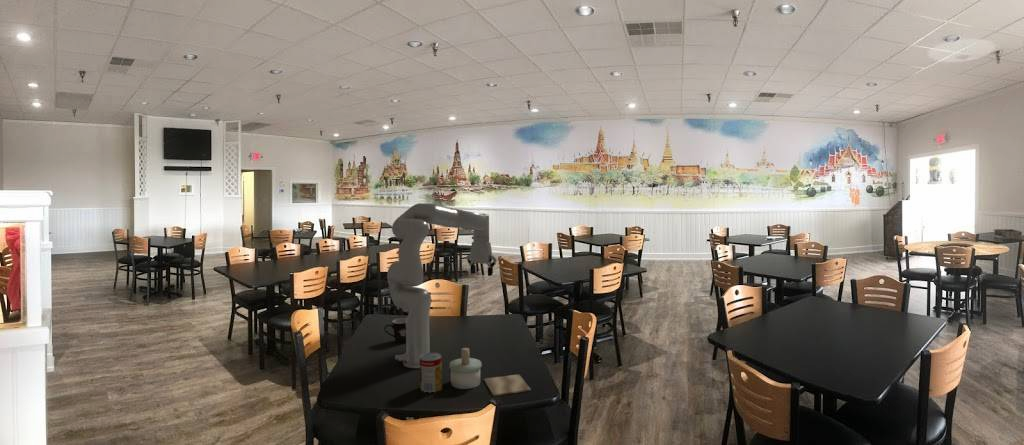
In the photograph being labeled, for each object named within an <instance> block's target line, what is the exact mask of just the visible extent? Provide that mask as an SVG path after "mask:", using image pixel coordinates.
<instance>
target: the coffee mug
mask: <svg viewBox="0 0 1024 445" xmlns="http://www.w3.org/2000/svg"><path fill="white" fill-rule="evenodd" d="M406 319H407V317H405V318H404V317H402V318H400V317H399V318H395V319H393V320H392V321H391V322H392V324H387V325H385V326H384V329H383V330H384V331H385V333H386V334H387V335H389V336H392V337H393V338H394V342H395V344H397V343H399V345H403V343H404V344H406ZM387 327H391V328H392V329H393V334H392V333H390V332H388V331H387V330H386V329H387Z"/></svg>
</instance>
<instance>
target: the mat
mask: <svg viewBox="0 0 1024 445" xmlns="http://www.w3.org/2000/svg"><path fill="white" fill-rule="evenodd" d="M483 381H484V383H485V384H486V386H487V389H488V390H489V391H490V393H491V395H492V396H493V397H495V396H496V397H497V396H503V395H504V396H505V395H511V394H518V393H519V394H520V393H525V392H531V391H532V389H531V387H530V386H529V385H528V384H527V383H526V380H525V379H524V378H523V377H522V375H520V374H517V373H516V374H511V375H503V376H501V375H500V376H495V377H487V378H484V379H483Z"/></svg>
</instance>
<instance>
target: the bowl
mask: <svg viewBox="0 0 1024 445" xmlns="http://www.w3.org/2000/svg"><path fill="white" fill-rule="evenodd" d="M480 384H481V368H480V369H479V370H477V371H474V372H468V373H460V372H455V371H452V370H451V369H450V385H451V387H453V388H456V389H460V390H469V389H474V388H476V387H478V386H480Z"/></svg>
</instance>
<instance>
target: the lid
mask: <svg viewBox="0 0 1024 445" xmlns="http://www.w3.org/2000/svg"><path fill="white" fill-rule="evenodd" d="M448 365H449V369H450V371H451V370H452V371H455V372H460V373H468V372H474V371H477V370H479V369H480V370H481V368H482V366H483V364H482V361H481V360H480V359H477V358H473V357H470V348H469V347H463V348H461V358H456V359H453V360H451V361H450V362H449V364H448Z"/></svg>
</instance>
